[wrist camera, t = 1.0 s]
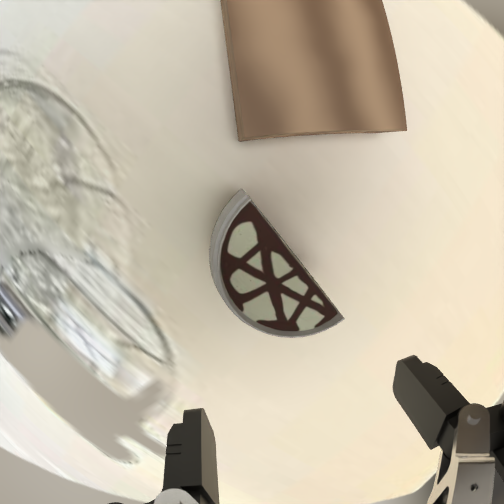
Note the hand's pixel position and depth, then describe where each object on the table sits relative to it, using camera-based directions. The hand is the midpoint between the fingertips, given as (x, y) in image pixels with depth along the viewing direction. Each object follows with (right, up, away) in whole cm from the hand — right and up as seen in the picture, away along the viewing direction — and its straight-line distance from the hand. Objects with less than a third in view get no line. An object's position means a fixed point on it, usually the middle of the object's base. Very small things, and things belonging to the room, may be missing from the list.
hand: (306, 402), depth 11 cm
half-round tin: (-2, +6, +19) cm, 20 cm away
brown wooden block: (+2, +26, +14) cm, 29 cm away
